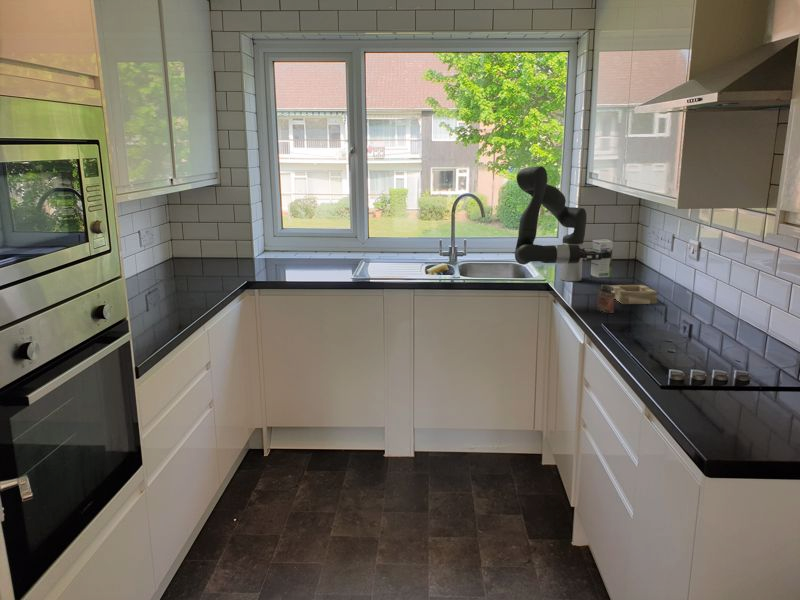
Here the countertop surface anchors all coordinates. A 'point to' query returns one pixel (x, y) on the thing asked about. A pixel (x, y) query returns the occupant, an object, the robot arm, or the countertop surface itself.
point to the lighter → (606, 299)
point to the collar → (634, 294)
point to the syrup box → (604, 265)
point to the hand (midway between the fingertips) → (607, 253)
